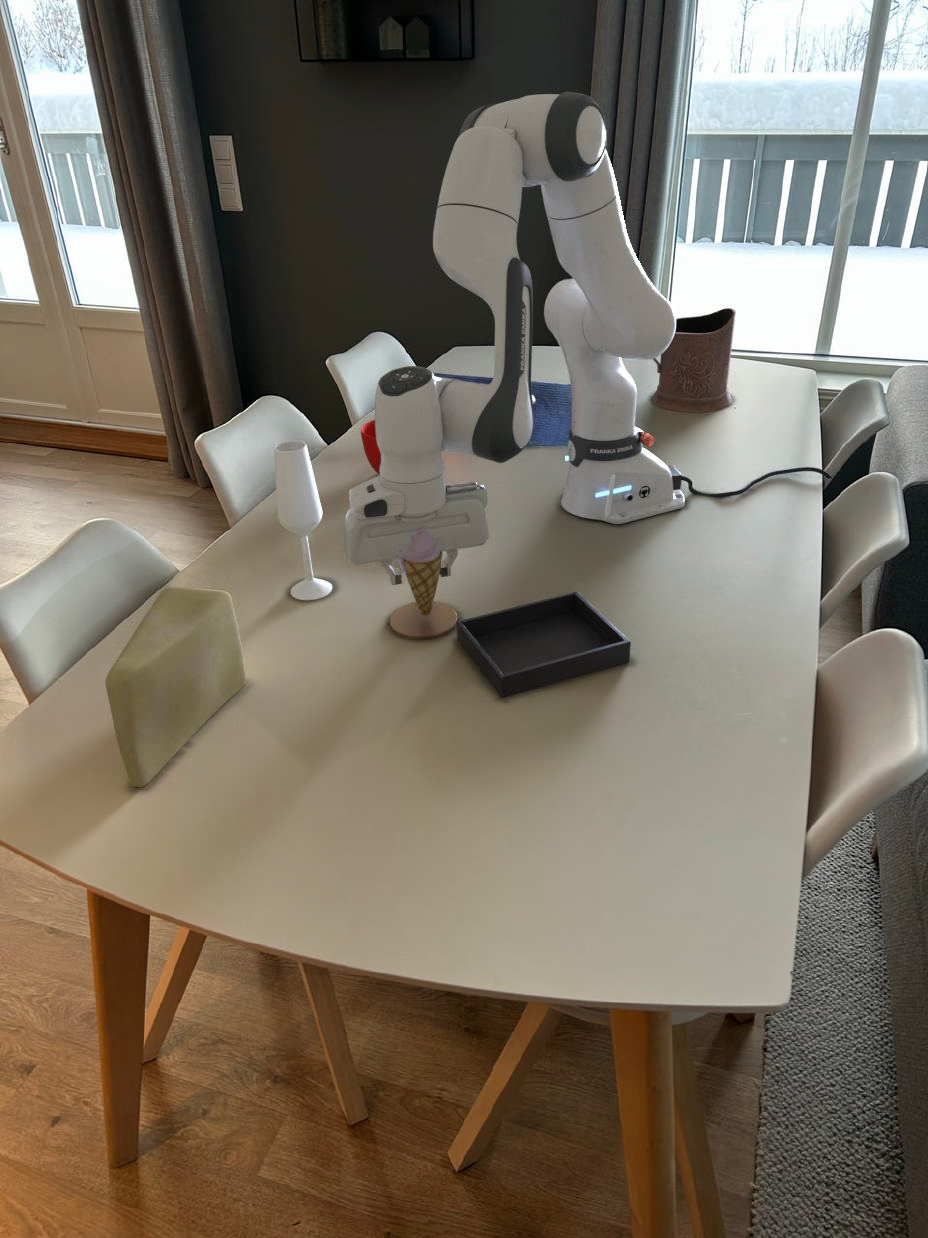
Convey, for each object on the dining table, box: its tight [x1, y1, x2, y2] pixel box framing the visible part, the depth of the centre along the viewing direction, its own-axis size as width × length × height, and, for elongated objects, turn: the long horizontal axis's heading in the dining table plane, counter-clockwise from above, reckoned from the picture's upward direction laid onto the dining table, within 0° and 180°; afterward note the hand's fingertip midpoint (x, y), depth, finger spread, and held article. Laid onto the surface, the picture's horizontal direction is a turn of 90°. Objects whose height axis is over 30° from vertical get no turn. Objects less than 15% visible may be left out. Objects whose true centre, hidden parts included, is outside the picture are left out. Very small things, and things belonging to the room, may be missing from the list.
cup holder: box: [651, 307, 737, 413], centre depth 209 cm, size 18×24×25 cm
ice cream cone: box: [396, 526, 443, 616], centre depth 130 cm, size 7×6×15 cm
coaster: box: [389, 601, 458, 640], centre depth 134 cm, size 10×10×1 cm
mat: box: [432, 372, 572, 448], centre depth 205 cm, size 45×27×12 cm, turn 82°
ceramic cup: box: [360, 419, 381, 476], centre depth 179 cm, size 13×17×10 cm
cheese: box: [104, 586, 247, 788], centre depth 111 cm, size 22×10×15 cm, turn 168°
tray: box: [456, 590, 632, 699], centre depth 126 cm, size 19×15×3 cm
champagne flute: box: [273, 440, 333, 601], centre depth 138 cm, size 7×7×24 cm
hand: (420, 579), depth 131 cm, fingers closed on ice cream cone, 6 cm apart
